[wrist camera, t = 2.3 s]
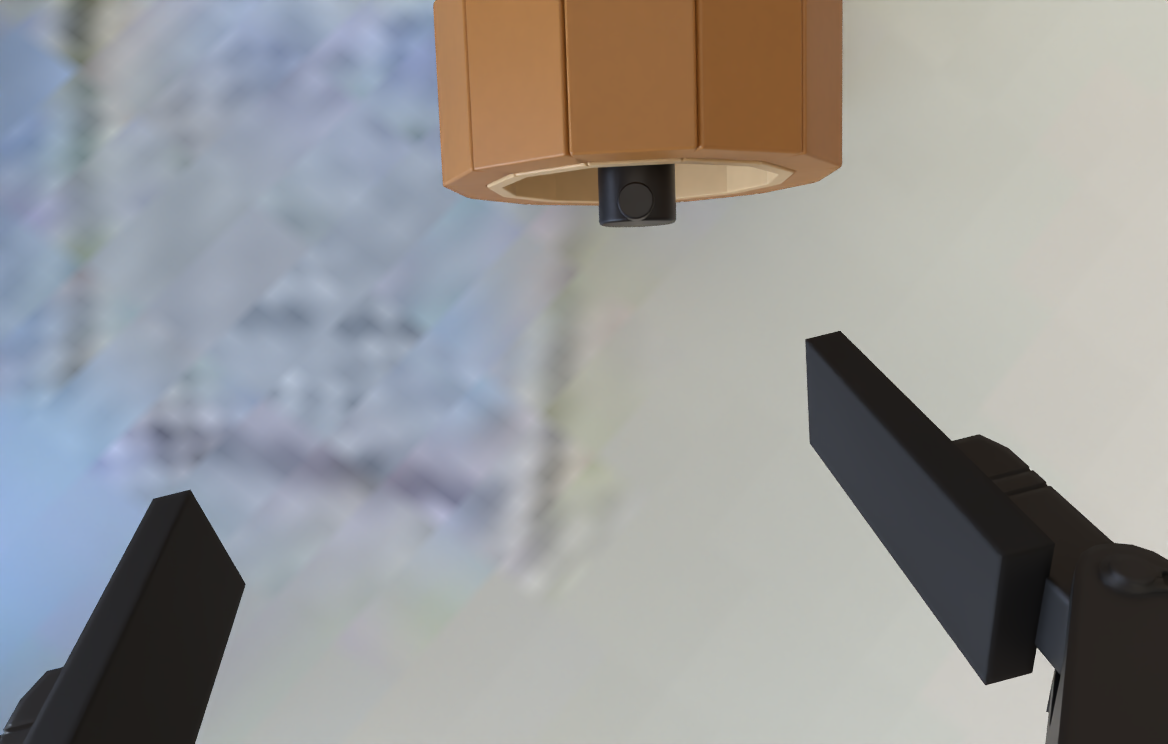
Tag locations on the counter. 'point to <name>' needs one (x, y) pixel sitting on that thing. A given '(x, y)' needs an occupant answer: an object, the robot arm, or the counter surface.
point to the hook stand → (637, 195)
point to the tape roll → (637, 95)
